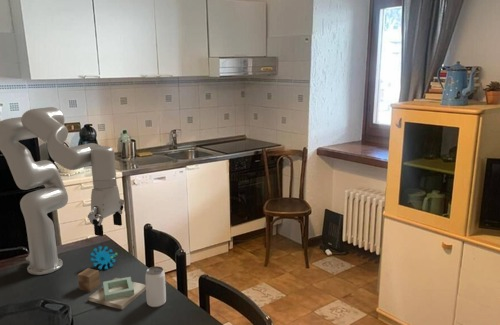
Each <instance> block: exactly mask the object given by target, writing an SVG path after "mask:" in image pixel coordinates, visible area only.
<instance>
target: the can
mask: <svg viewBox="0 0 500 325" xmlns="http://www.w3.org/2000/svg"><path fill="white" fill-rule="evenodd" d="M144 277H145V278H144V280H145V285H146V290H145V295H146V298H145V299H146V304H147V306H149V307H152V308H159V307H162V306H164V305H165V303H166V301H167V290H166V289H167V288H166V273H165V271H164V268H163V267H162V266H157V265H156V266H151V267H148V268H147V269H146V271H145V276H144Z"/></svg>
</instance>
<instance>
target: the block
mask: <svg viewBox="0 0 500 325" xmlns="http://www.w3.org/2000/svg"><path fill="white" fill-rule="evenodd" d="M77 281H78V289H79V290H80V291H84V292H88V293H91V292H93V291H94V290H96V289H97V288H99V287H101V280H100V270H99V269H93V268H89V267H87V268H86V269H84V270H83V271H81V272H79V273H78V274H77Z"/></svg>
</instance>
